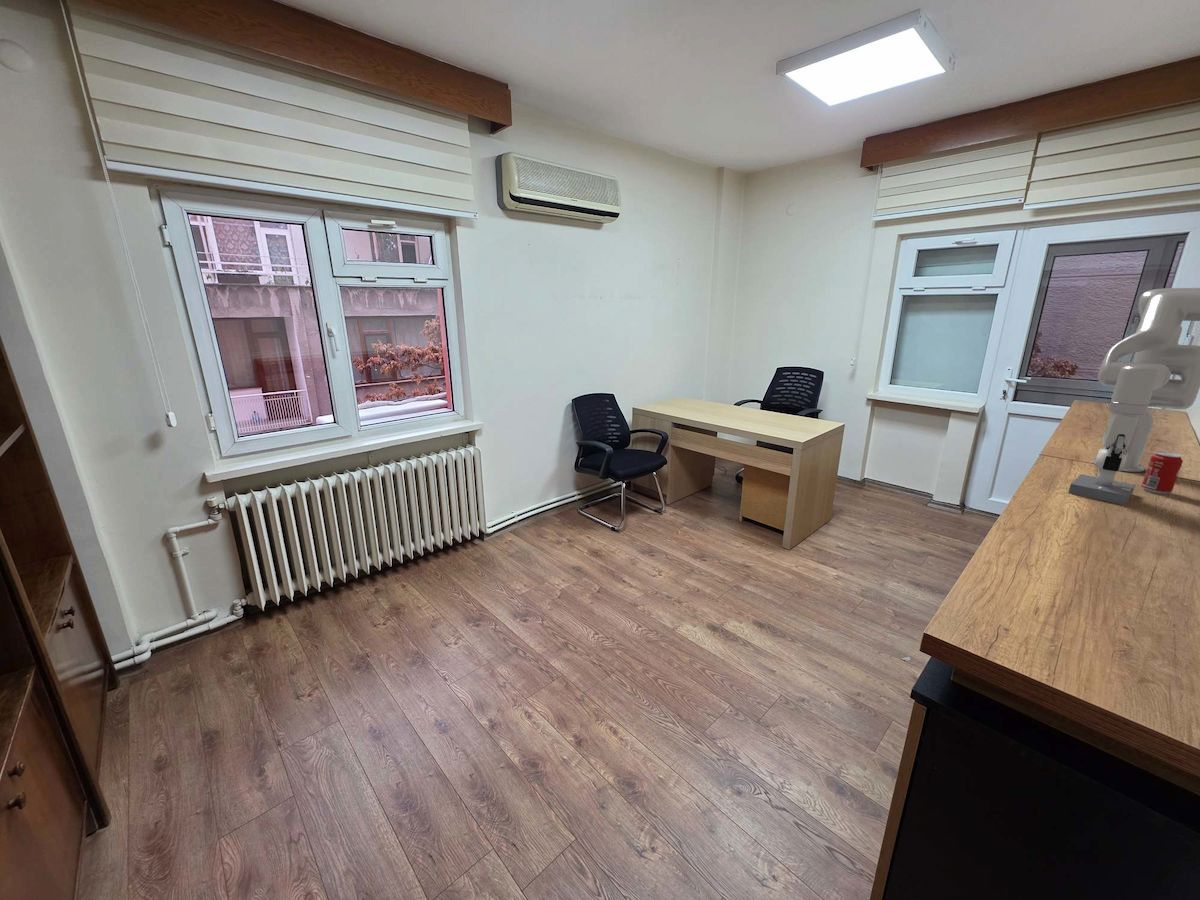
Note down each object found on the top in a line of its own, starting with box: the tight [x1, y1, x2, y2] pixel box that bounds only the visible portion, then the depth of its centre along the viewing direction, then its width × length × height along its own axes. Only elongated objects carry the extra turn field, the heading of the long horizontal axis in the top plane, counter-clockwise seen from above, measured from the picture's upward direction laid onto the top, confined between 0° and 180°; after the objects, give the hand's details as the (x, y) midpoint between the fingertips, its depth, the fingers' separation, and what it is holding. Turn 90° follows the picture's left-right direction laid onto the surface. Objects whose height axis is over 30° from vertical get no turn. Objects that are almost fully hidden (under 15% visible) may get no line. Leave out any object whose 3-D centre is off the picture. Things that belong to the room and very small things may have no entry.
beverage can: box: [1141, 451, 1184, 495], centre depth 146 cm, size 6×6×12 cm
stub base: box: [1068, 468, 1136, 506], centre depth 145 cm, size 14×12×8 cm
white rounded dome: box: [1094, 448, 1128, 472], centre depth 143 cm, size 6×6×5 cm
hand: (1108, 466), depth 144 cm, fingers open, 7 cm apart
